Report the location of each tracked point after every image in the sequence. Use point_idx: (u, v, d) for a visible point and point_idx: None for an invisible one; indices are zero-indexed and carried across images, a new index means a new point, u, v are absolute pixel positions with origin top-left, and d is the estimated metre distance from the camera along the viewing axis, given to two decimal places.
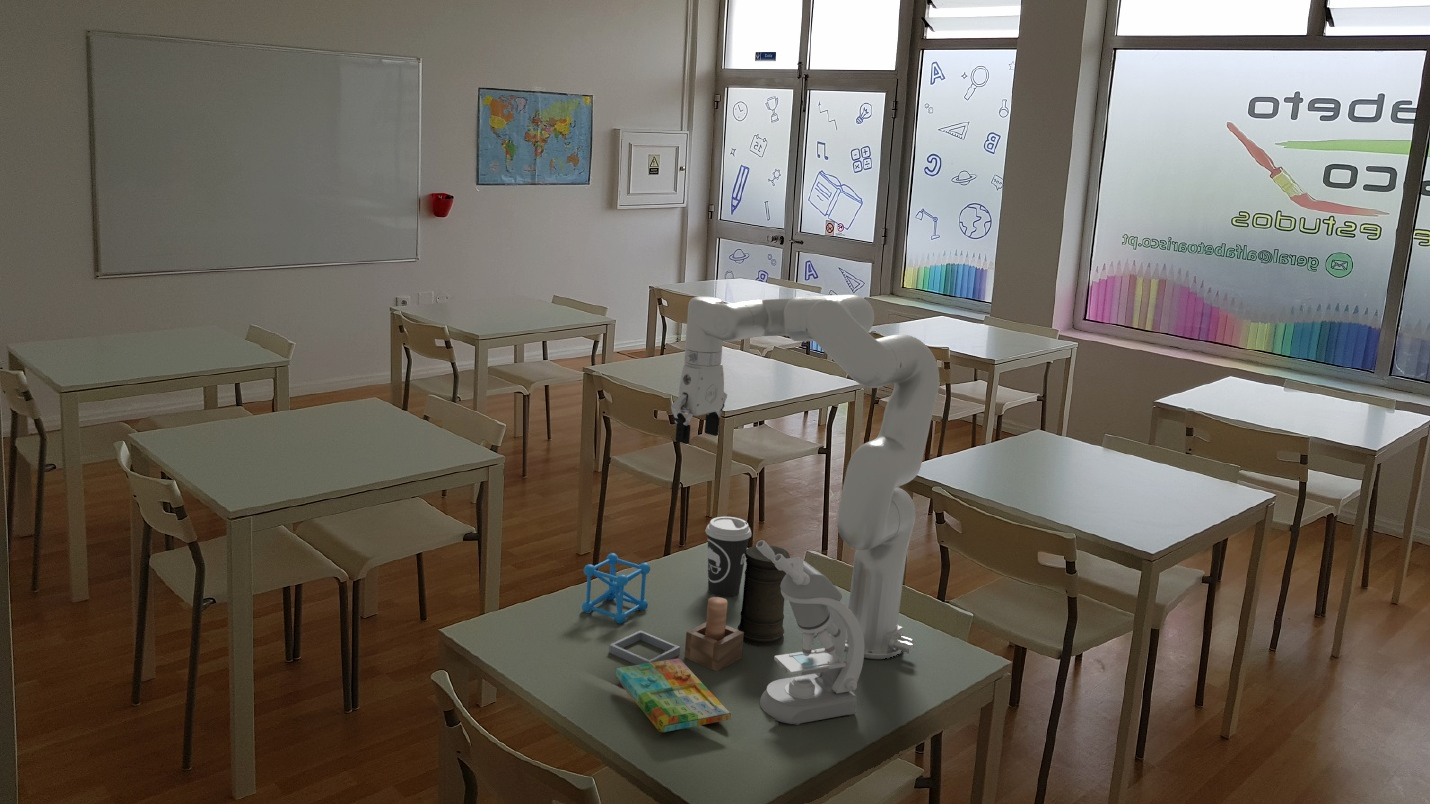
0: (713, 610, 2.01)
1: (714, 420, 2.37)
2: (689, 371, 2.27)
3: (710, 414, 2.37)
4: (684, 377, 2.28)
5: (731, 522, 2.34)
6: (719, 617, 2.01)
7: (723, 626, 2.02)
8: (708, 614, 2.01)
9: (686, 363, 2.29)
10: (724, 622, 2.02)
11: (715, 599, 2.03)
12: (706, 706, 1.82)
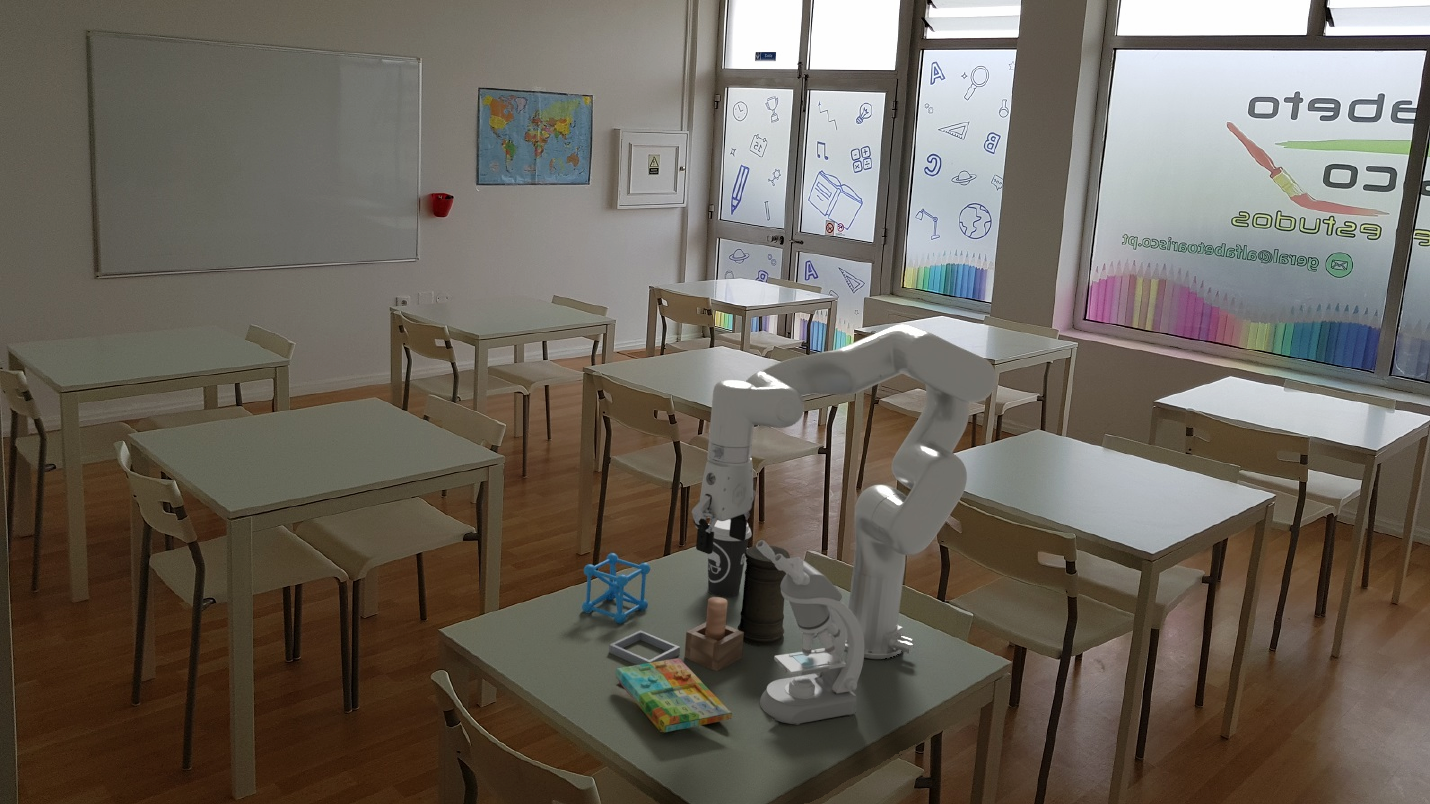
0: (713, 610, 2.01)
1: (741, 522, 2.01)
2: (713, 469, 1.92)
3: (736, 515, 2.02)
4: (708, 476, 1.93)
5: None
6: (719, 617, 2.01)
7: (723, 626, 2.02)
8: (708, 614, 2.01)
9: (710, 459, 1.94)
10: (724, 622, 2.02)
11: (715, 599, 2.03)
12: (706, 706, 1.82)
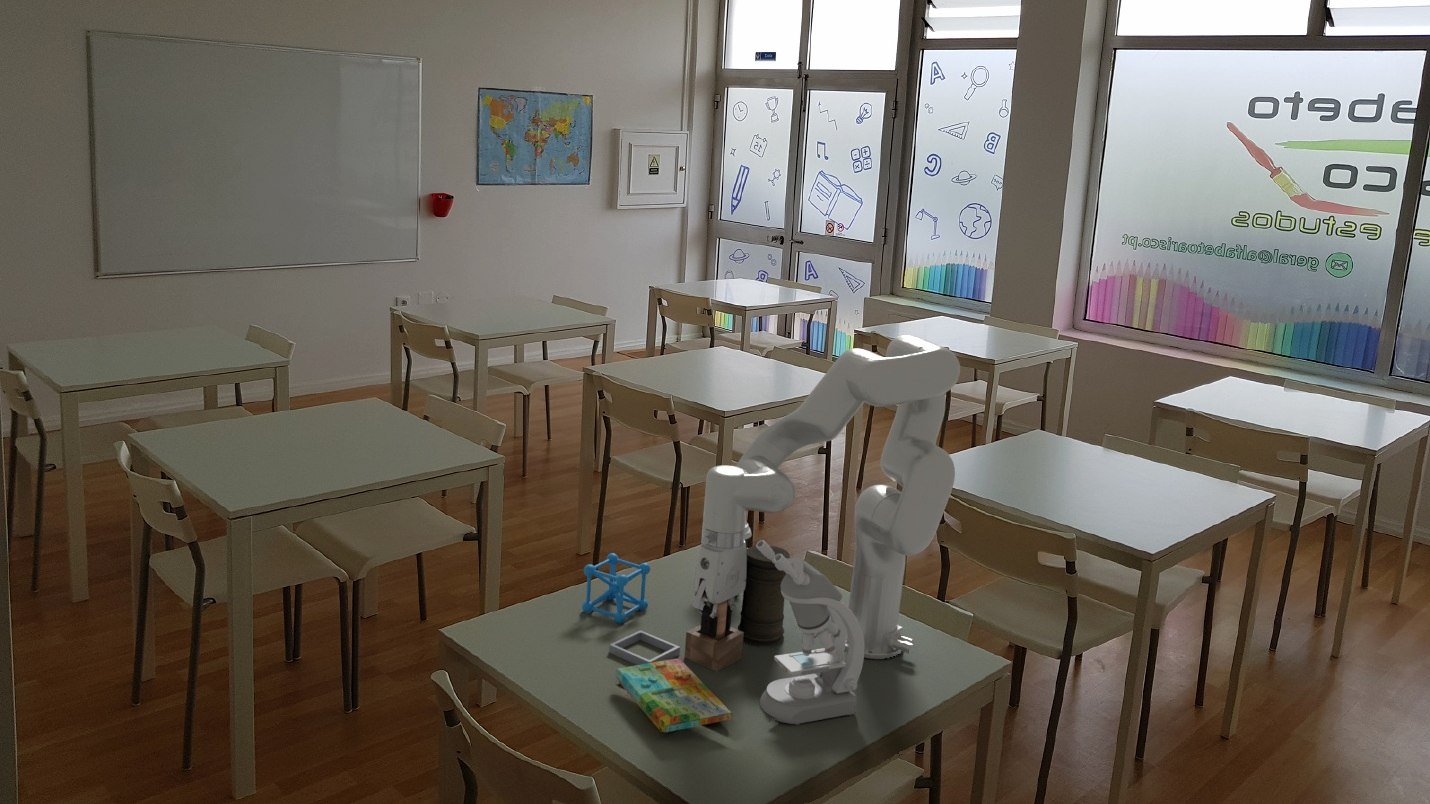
0: None
1: None
2: (707, 554, 1.96)
3: None
4: (702, 560, 1.97)
5: None
6: (719, 617, 2.01)
7: (723, 626, 2.02)
8: None
9: (704, 543, 1.97)
10: (724, 622, 2.02)
11: None
12: (707, 706, 1.82)
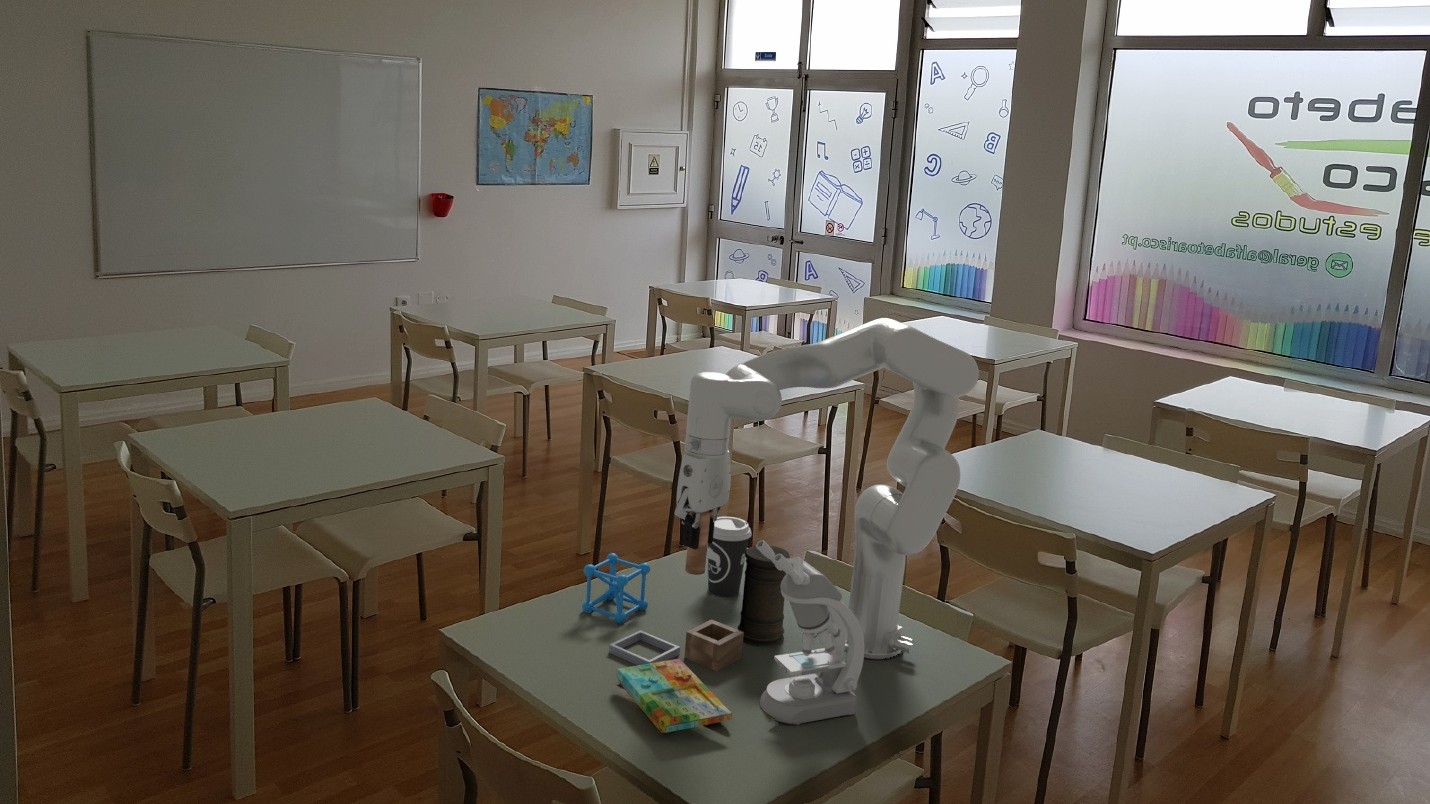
0: None
1: None
2: (690, 461, 1.91)
3: None
4: (685, 468, 1.93)
5: (731, 522, 2.34)
6: (702, 528, 1.97)
7: (706, 538, 1.98)
8: None
9: (687, 451, 1.93)
10: (707, 534, 1.98)
11: None
12: (707, 706, 1.82)
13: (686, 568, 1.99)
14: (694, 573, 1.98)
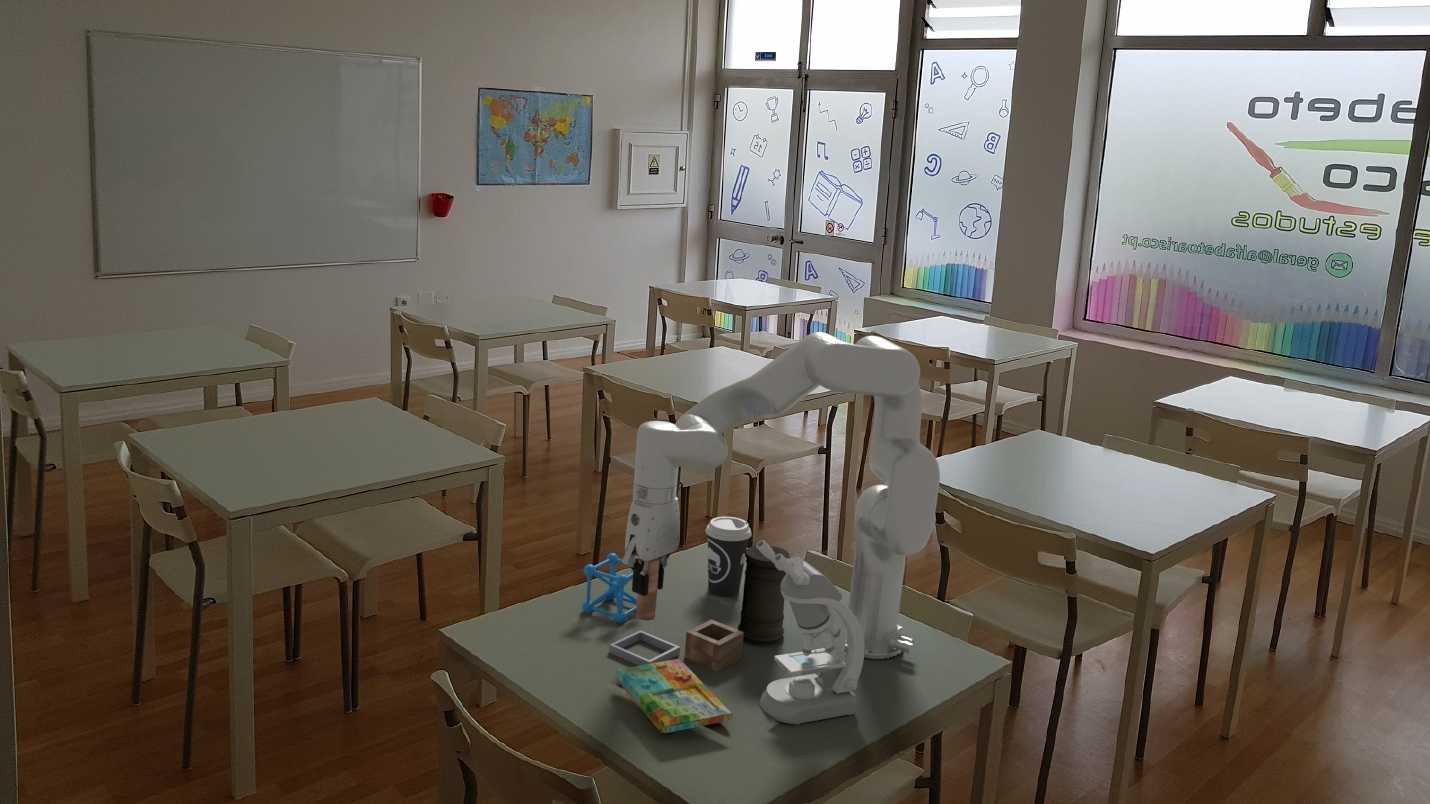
0: None
1: None
2: (638, 510, 1.93)
3: None
4: (632, 517, 1.95)
5: (731, 522, 2.34)
6: (650, 575, 1.98)
7: (655, 584, 2.00)
8: None
9: (635, 499, 1.95)
10: (656, 580, 2.00)
11: None
12: (707, 707, 1.82)
13: (636, 614, 2.01)
14: (644, 619, 2.00)
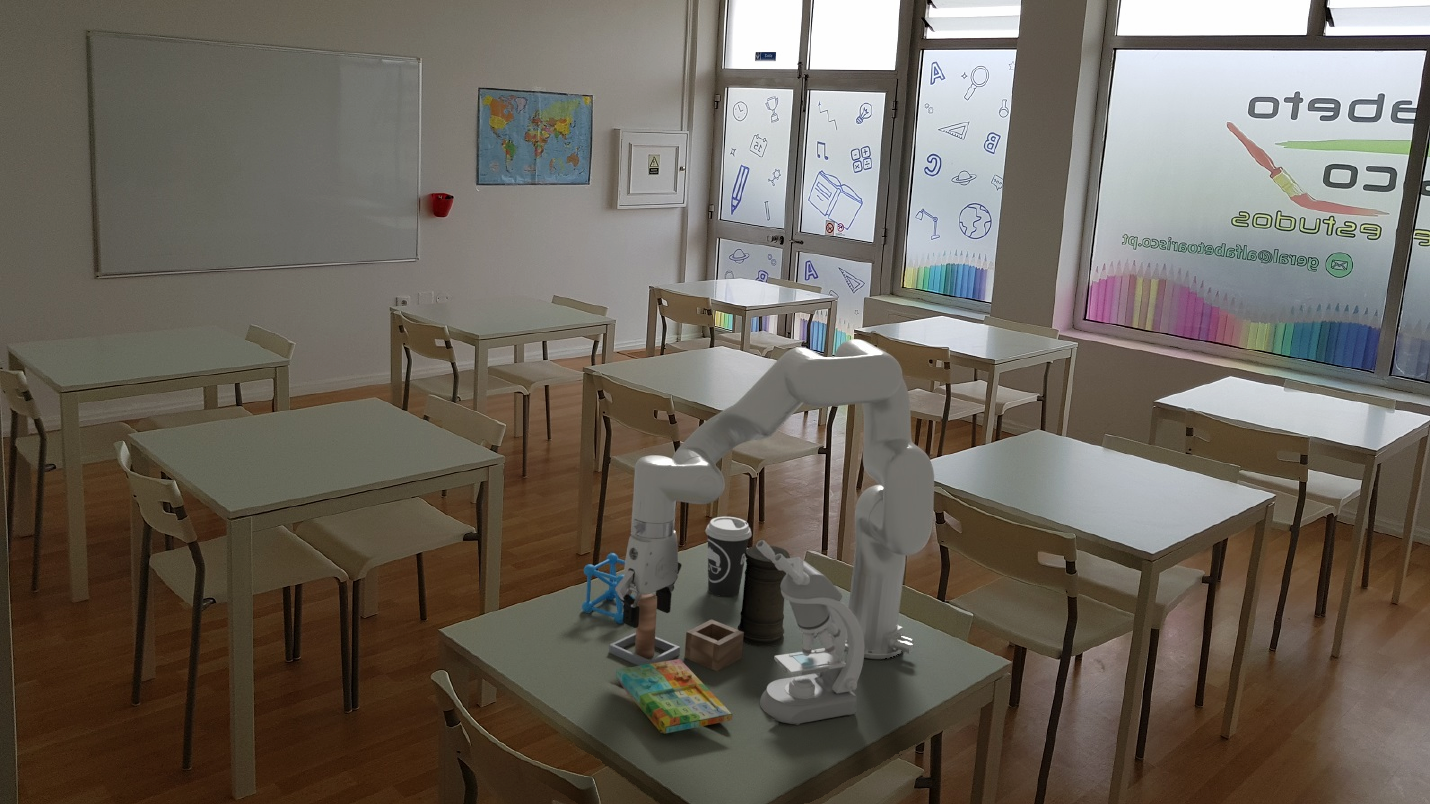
0: (642, 606, 2.00)
1: (665, 595, 2.04)
2: (636, 544, 1.95)
3: None
4: (631, 551, 1.96)
5: (731, 522, 2.34)
6: (648, 613, 2.00)
7: (653, 622, 2.01)
8: None
9: (633, 534, 1.97)
10: (654, 618, 2.02)
11: (645, 595, 2.02)
12: (707, 707, 1.82)
13: (635, 652, 2.03)
14: (643, 657, 2.02)
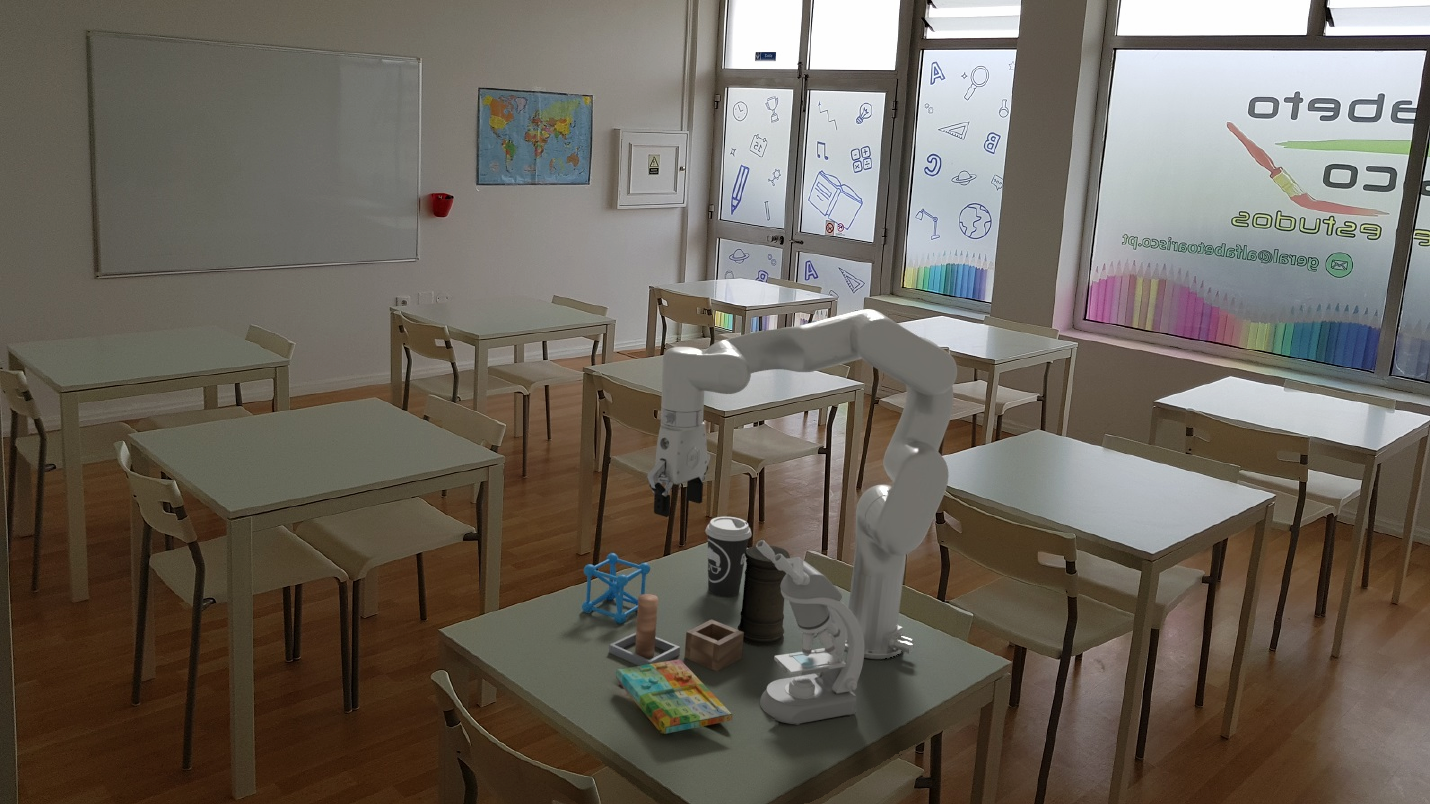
0: (643, 607, 2.00)
1: (697, 486, 2.07)
2: (667, 434, 1.97)
3: (692, 479, 2.08)
4: (662, 441, 1.99)
5: (731, 522, 2.34)
6: (649, 614, 2.00)
7: (654, 623, 2.01)
8: (638, 611, 2.01)
9: (663, 424, 1.99)
10: (655, 619, 2.01)
11: (646, 596, 2.02)
12: (707, 707, 1.82)
13: (635, 652, 2.03)
14: (643, 657, 2.02)
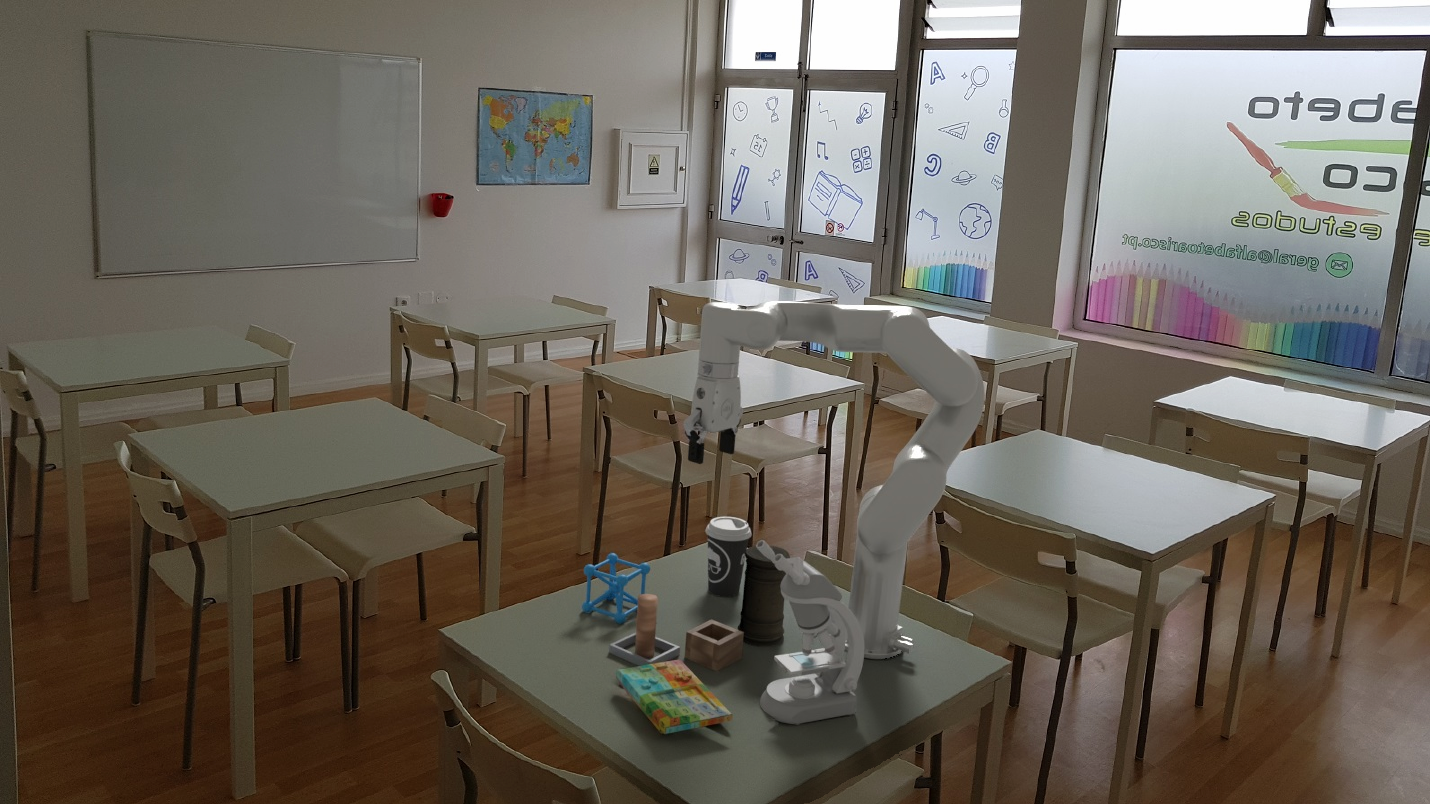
0: (643, 607, 2.00)
1: (730, 437, 2.16)
2: (703, 384, 2.07)
3: (725, 430, 2.17)
4: (698, 391, 2.08)
5: (731, 522, 2.34)
6: (649, 614, 2.00)
7: (653, 623, 2.01)
8: (638, 611, 2.01)
9: (700, 375, 2.08)
10: (654, 619, 2.01)
11: (645, 596, 2.02)
12: (707, 707, 1.82)
13: (635, 652, 2.03)
14: (643, 657, 2.02)
